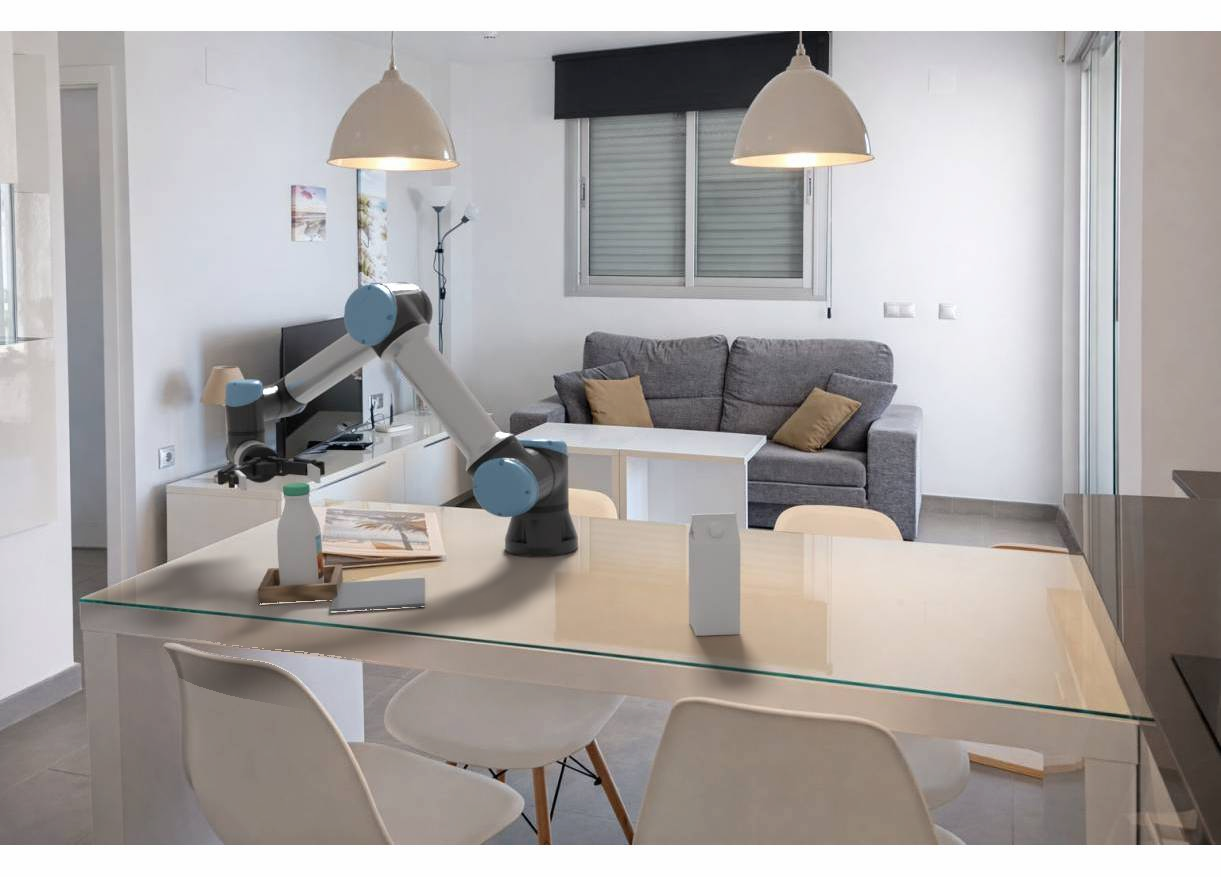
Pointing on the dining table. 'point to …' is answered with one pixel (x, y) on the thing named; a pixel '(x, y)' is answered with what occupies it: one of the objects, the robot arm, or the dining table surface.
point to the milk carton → (714, 574)
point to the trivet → (380, 594)
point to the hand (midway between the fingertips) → (282, 479)
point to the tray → (300, 587)
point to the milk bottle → (299, 539)
